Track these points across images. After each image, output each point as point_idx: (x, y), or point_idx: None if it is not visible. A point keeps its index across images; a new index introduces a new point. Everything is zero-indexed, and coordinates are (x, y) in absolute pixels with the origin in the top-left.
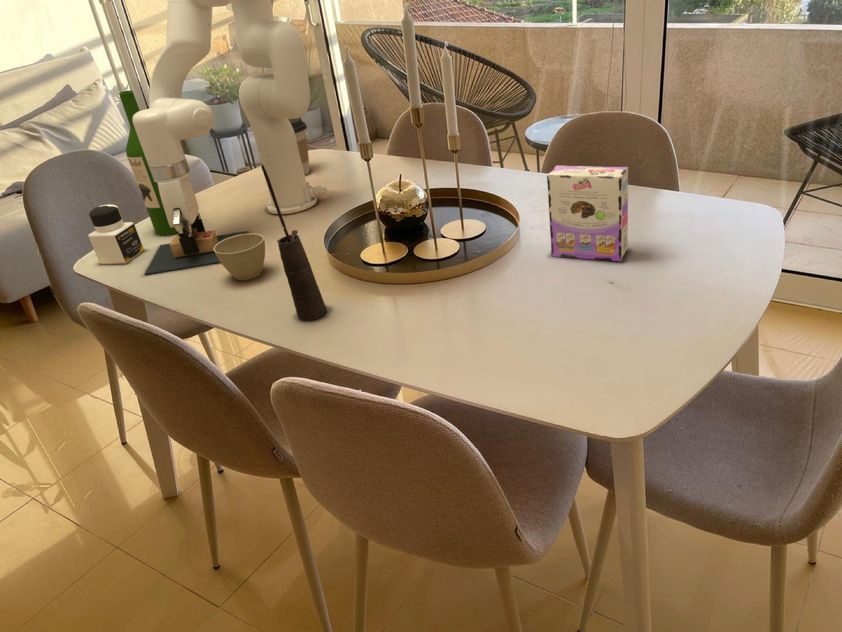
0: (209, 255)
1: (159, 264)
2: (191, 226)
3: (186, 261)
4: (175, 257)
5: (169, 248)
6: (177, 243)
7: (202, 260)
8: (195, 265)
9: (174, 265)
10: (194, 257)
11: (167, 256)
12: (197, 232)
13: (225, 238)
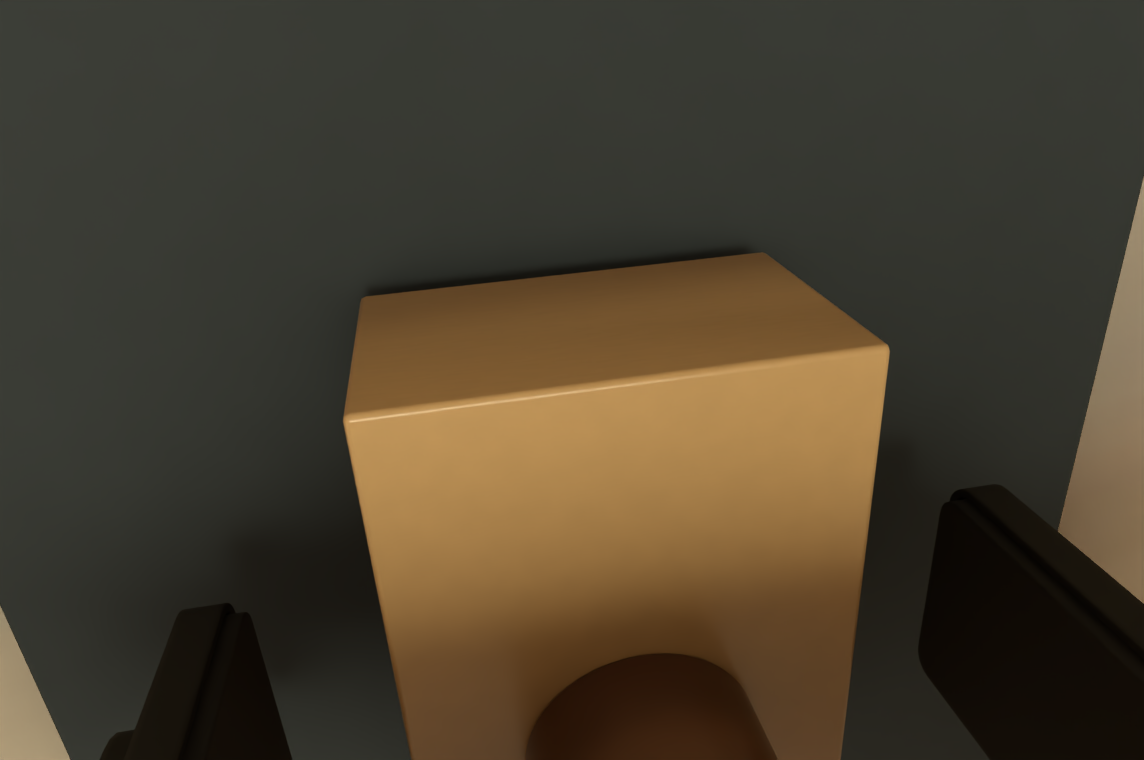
0: (374, 748)
1: (166, 20)
2: (1084, 676)
3: (216, 515)
4: (450, 268)
5: (950, 5)
6: (377, 576)
7: None
8: (38, 685)
9: (71, 362)
10: (358, 580)
11: (550, 85)
12: (977, 633)
13: (878, 747)
